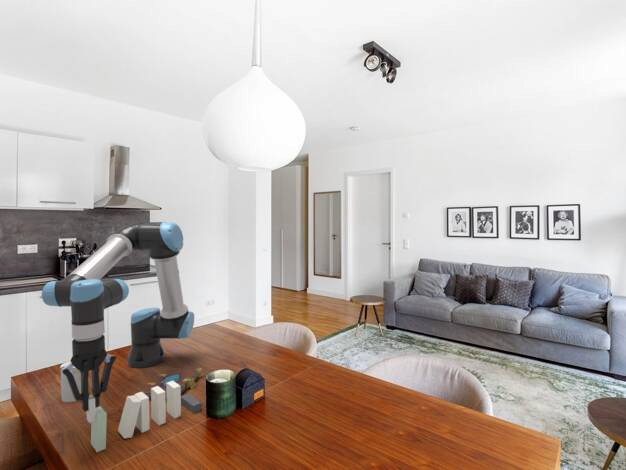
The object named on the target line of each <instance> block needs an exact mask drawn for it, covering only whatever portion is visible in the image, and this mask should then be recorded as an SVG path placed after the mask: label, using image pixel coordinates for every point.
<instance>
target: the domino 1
mask: <svg viewBox="0 0 626 470" xmlns="http://www.w3.org/2000/svg"><path fill="white" fill-rule="evenodd" d="M95 410H96V421H94V422H92V423H90V424H91V425H90V427H91V429H90V445H91V447H92V448H93V450H94V451H96V453H100V452H101V451H104V450H106V449H107V448H106V447H107V418H108V417H107V415H108V413H107V412H106V411H105V409H104V408H103V407H102V406H100V405H99V407H97V408H95Z"/></svg>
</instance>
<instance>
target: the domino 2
mask: <svg viewBox="0 0 626 470" xmlns="http://www.w3.org/2000/svg"><path fill="white" fill-rule="evenodd" d="M140 405H141V401H140V400H139V399H138V398H137V397H136V396H135V395H126V399H125V403H124V405H123V409H122V413H121V417H120V421H119V424H118V425H119V426H118V429H117V431H118V433H119V434H120V435H121V437H122V438H123V439H129V438H130V439H131V438H133V436H134V431H135V429H136V426H135V424H136V421H137V417H138V413H139V409H140Z"/></svg>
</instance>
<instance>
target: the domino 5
mask: <svg viewBox="0 0 626 470" xmlns="http://www.w3.org/2000/svg"><path fill="white" fill-rule="evenodd" d="M166 389H167V400H166V414H167V413H168V414H169V416H171V417H172V419H177V418H179V417H181V416H182V404H181V396H182V394H181V386H180V385H179V384H177V383H176V382H174V381H170V382H167V383H166Z"/></svg>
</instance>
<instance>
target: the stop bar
mask: <svg viewBox="0 0 626 470" xmlns="http://www.w3.org/2000/svg"><path fill="white" fill-rule="evenodd" d="M202 405H203V403H202V401H200V400H199V399H197V398H196V397H195V396H193V395H192V394H191V393H186V394H184V395H181V406H183V407H184V408H186V409H187V410H188V411H189V412H191V413H192V414H194V415H195V414H197V412H198V413H199V411H200V412H201V411H202V410H203V406H202Z"/></svg>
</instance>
